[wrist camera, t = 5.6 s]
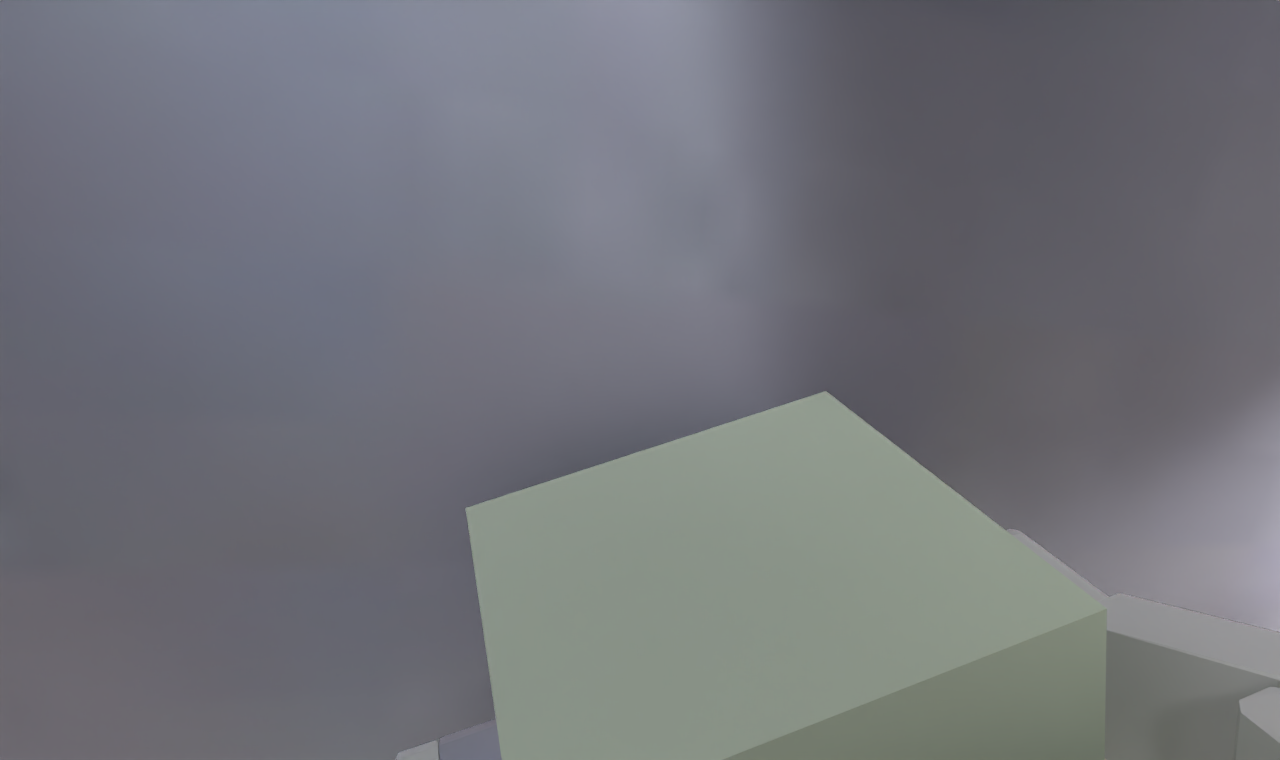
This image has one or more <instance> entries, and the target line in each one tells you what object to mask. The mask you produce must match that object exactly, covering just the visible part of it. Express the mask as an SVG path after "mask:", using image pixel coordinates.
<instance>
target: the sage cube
mask: <svg viewBox="0 0 1280 760" xmlns="http://www.w3.org/2000/svg"><path fill="white" fill-rule="evenodd" d="M465 509H466V516H467V523H468V530H469V536H470V543H471V550H472V557H473V564H474V571H475V578H476V585H477V592H478V599H479V606H480V613H481V620H482V626H483V633H484V640H485V647H486V654H487V661H488V668H489V675H490V682H491V689H492V696H493V703H494V710H495V716H496V723H497V730H498V737H499V744H500V751H501V758H502V760H1105V700H1106V634H1107V608H1105V607H1104V606H1103V605H1102V604H1100V603H1099V602H1098V601H1096V600H1095V599H1094V598H1093V597H1091V596H1090V595H1089V594H1087V593H1086V592H1085V591H1083V590H1082V589H1081V588H1080V587H1078V586H1077V585H1076V584H1074V583H1073V582H1072V581H1071V580H1069V579H1068V578H1067V577H1065V576H1064V575H1063V574H1062V573H1060V572H1059V571H1058V570H1056V569H1055V568H1054V567H1053V566H1051V565H1050V564H1049V563H1047V562H1046V561H1045V560H1043V559H1042V558H1041V557H1040V556H1038V555H1037V554H1036V553H1034V552H1033V551H1032V550H1031V549H1029V548H1028V547H1027V546H1025V545H1024V544H1023V543H1022V542H1020V541H1019V540H1018V539H1016V538H1015V537H1014V536H1013V535H1011V534H1010V533H1009V532H1007V531H1006V530H1005V529H1003V528H1002V527H1001V526H1000V525H998V524H997V523H996V522H994V521H993V520H992V519H991V518H989V517H988V516H987V515H985V514H984V513H983V512H982V511H980V510H979V509H978V508H976V507H975V506H974V505H973V504H971V503H970V502H969V501H967V500H966V499H965V498H963V497H962V496H961V495H960V494H958V493H957V492H956V491H954V490H953V489H952V488H951V487H949V486H948V485H947V484H945V483H944V482H943V481H942V480H940V479H939V478H938V477H936V476H935V475H934V474H932V473H931V472H930V471H929V470H927V469H926V468H925V467H923V466H922V465H921V464H920V463H918V462H917V461H916V460H914V459H913V458H912V457H911V456H909V455H908V454H907V453H905V452H904V451H903V450H902V449H900V448H899V447H898V446H896V445H895V444H894V443H892V442H891V441H890V440H889V439H887V438H886V437H885V436H883V435H882V434H881V433H880V432H878V431H877V430H876V429H874V428H873V427H872V426H871V425H869V424H868V423H867V422H865V421H864V420H863V419H862V418H860V417H859V416H858V415H856V414H855V413H854V412H852V411H851V410H850V409H849V408H847V407H846V406H845V405H843V404H842V403H841V402H840V401H838V400H837V399H836V398H834V397H833V396H832V395H831V394H829V393H828V392H827V391H824V392H821V393H818V394H815V395H812V396H809V397H805V398H802V399H799V400H796V401H793V402H790V403H787V404H784V405H781V406H778V407H775V408H772V409H769V410H765V411H762V412H759V413H756V414H753V415H750V416H747V417H744V418H741V419H738V420H735V421H732V422H728V423H725V424H722V425H719V426H716V427H713V428H710V429H707V430H704V431H701V432H698V433H695V434H692V435H688V436H685V437H682V438H679V439H676V440H673V441H670V442H667V443H664V444H661V445H658V446H655V447H652V448H648V449H645V450H642V451H639V452H636V453H633V454H630V455H627V456H624V457H621V458H618V459H615V460H611V461H608V462H605V463H602V464H599V465H596V466H593V467H590V468H587V469H584V470H581V471H578V472H575V473H571V474H568V475H565V476H562V477H559V478H556V479H553V480H550V481H547V482H544V483H541V484H538V485H535V486H531V487H528V488H525V489H522V490H519V491H516V492H513V493H510V494H507V495H504V496H501V497H498V498H494V499H491V500H488V501H485V502H482V503H479V504H476V505H473V506H470V507H467V508H465Z"/></svg>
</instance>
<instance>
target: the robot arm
mask: <svg viewBox="0 0 1280 760" xmlns="http://www.w3.org/2000/svg"><path fill="white" fill-rule="evenodd" d="M1006 531H1007V532H1009V533H1010V534H1011V535H1013V536H1014V537H1015V538H1016V539H1018V540H1019V541H1020V542H1022V543H1023V544H1024V545H1025V546H1027V547H1028V548H1029V549H1031V550H1032V551H1033V552H1034V553H1036V554H1037V555H1038V556H1040V557H1041V558H1042V559H1043V560H1045V561H1046V562H1047V563H1049V564H1050V565H1051V566H1053V567H1054V568H1055V569H1056V570H1058V571H1059V572H1060V573H1062V574H1063V575H1064V576H1065V577H1067V578H1068V579H1069V580H1071V581H1072V582H1073V583H1074V584H1076V585H1077V586H1078V587H1080V588H1081V589H1082V590H1083V591H1085V592H1086V593H1087V594H1089V595H1090V596H1091V597H1093V598H1094V599H1095V600H1096V601H1098V602H1099V603H1100V604H1102V605H1103V606H1104V607H1105V608H1107V634H1106V700H1105V759H1107V760H1280V632H1277V631H1273V630H1269V629H1264V628H1260V627H1256V626H1252V625H1248V624H1244V623H1240V622H1236V621H1232V620H1228V619H1224V618H1220V617H1216V616H1212V615H1208V614H1203V613H1199V612H1195V611H1191V610H1187V609H1183V608H1179V607H1175V606H1171V605H1167V604H1163V603H1159V602H1155V601H1151V600H1147V599H1142V598H1138V597H1134V596H1130V595H1126V594H1122V593H1117V594H1115V595H1112V596H1107V595H1106V594H1104V593H1103V592H1102V591H1100V590H1099V589H1098V588H1096V587H1095V586H1094V585H1092V584H1091V583H1090V582H1088V581H1087V580H1086V579H1084V578H1083V577H1082V576H1080V575H1079V574H1078V573H1076V572H1075V571H1074V570H1072V569H1071V568H1070V567H1068V566H1067V565H1066V564H1064V563H1063V562H1062V561H1060V560H1059V559H1058V558H1056V557H1055V556H1053V555H1052V554H1051V553H1049V552H1048V551H1047V550H1045V549H1044V548H1043V547H1041V546H1040V545H1039V544H1037V543H1036V542H1035V541H1033V540H1032V539H1031V538H1029V537H1028V536H1027V535H1025V534H1024V533H1023V532H1021V531H1019V530H1015V529H1008V530H1006ZM396 760H502V758H501V751H500V744H499V737H498V730H497V723H496V719H493V720H490V721H487V722H484V723H481V724H478V725H475V726H472V727H469V728H466V729H463V730H460V731H457V732H454V733H452V734H449V735H446V736H443V737H441V738H440V739H437V740H434V741H431V742H428V743H425V744H422V745H419V746H416V747H413V748H410V749H407V750H404V751H401V752H398V754H397V757H396Z"/></svg>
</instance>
